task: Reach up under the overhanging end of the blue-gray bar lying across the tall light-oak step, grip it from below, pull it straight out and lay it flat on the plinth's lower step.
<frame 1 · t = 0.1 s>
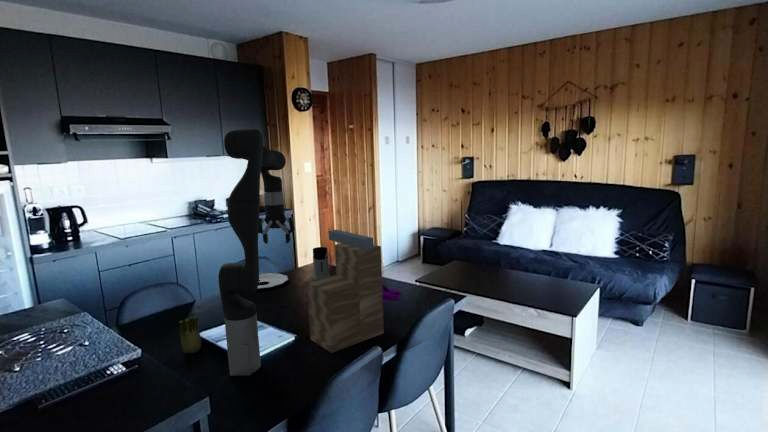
hand: (277, 243, 171), 29 cm above the table, tool pointing down, fingers open, 8 cm apart
fennel bulb: (192, 352, 143), on the table
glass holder: (324, 277, 223), on the table
cloth: (384, 298, 191), on the table
plate: (263, 284, 216), on the table
blue-gray bar: (350, 243, 153), point 32 cm above the table, touching plinth
plinth: (361, 331, 155), on the table
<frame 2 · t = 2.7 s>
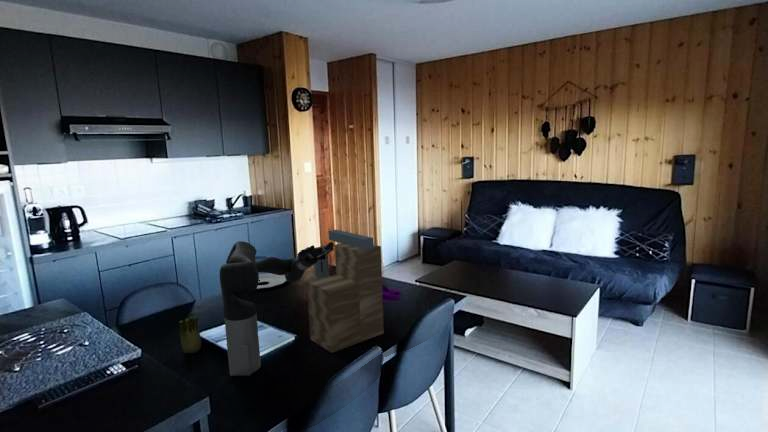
hand: (323, 245, 169), 28 cm above the table, tool pointing upward, fingers open, 8 cm apart
nothing on the table moved.
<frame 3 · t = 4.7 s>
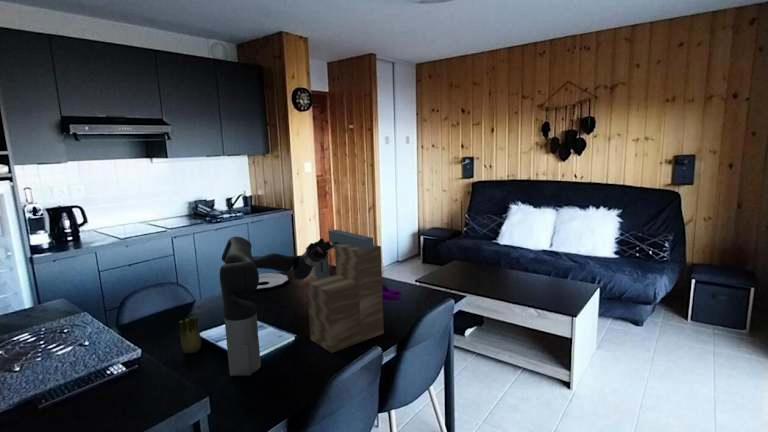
hand: (332, 238, 164), 32 cm above the table, tool pointing upward, fingers open, 8 cm apart
nothing on the table moved.
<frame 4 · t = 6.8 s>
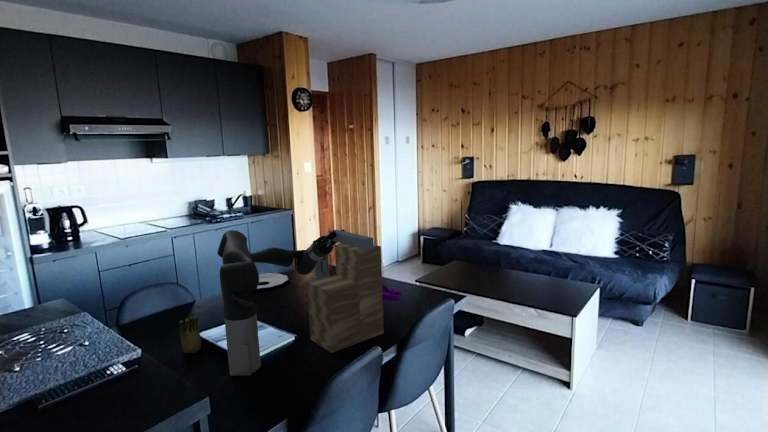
hand: (339, 232, 158), 35 cm above the table, tool pointing upward, fingers closed on blue-gray bar, 3 cm apart
blue-gray bar: (350, 243, 153), point 32 cm above the table, touching gripper, plinth
everything else where it was.
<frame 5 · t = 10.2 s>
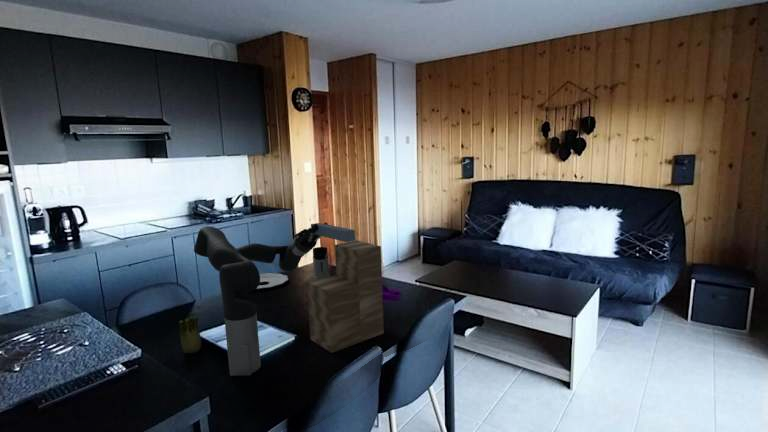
hand: (321, 225, 151), 39 cm above the table, tool pointing upward, fingers closed on blue-gray bar, 3 cm apart
blue-gray bar: (332, 236, 147), point 36 cm above the table, touching gripper
everything else where it was.
when the fingers open (26 cm above the table, at t = 13.5 s): blue-gray bar drops 2 cm, resting on plinth.
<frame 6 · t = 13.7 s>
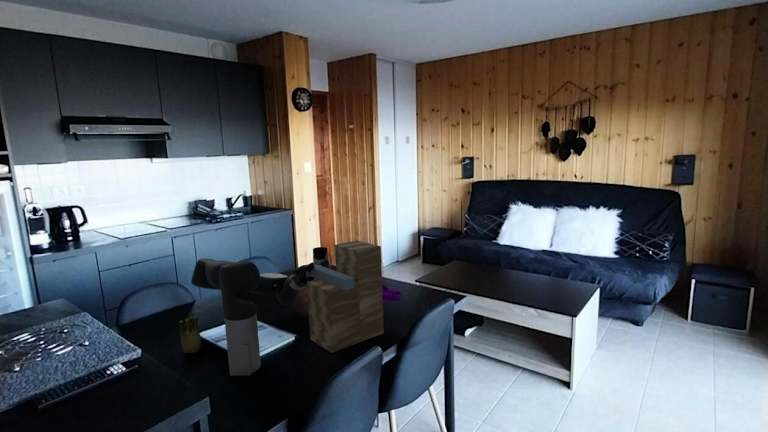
hand: (320, 263, 150), 26 cm above the table, tool pointing upward, fingers open, 5 cm apart
blue-gray bar: (330, 281, 146), point 21 cm above the table, touching plinth
everything else where it was.
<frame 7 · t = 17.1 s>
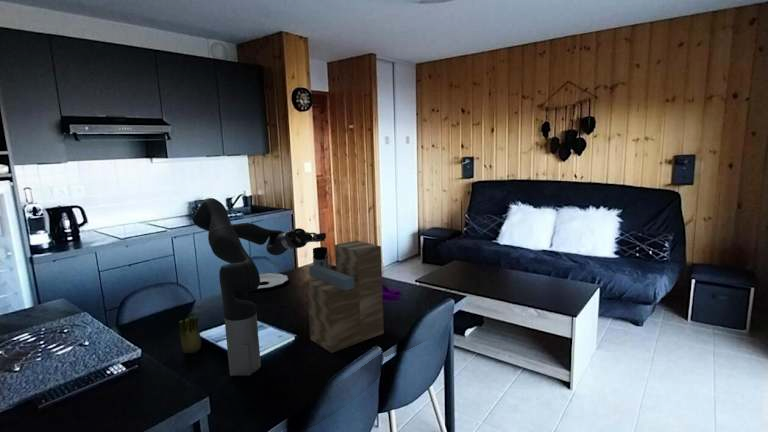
hand: (314, 234, 154), 35 cm above the table, tool horizontal, fingers open, 8 cm apart
nothing on the table moved.
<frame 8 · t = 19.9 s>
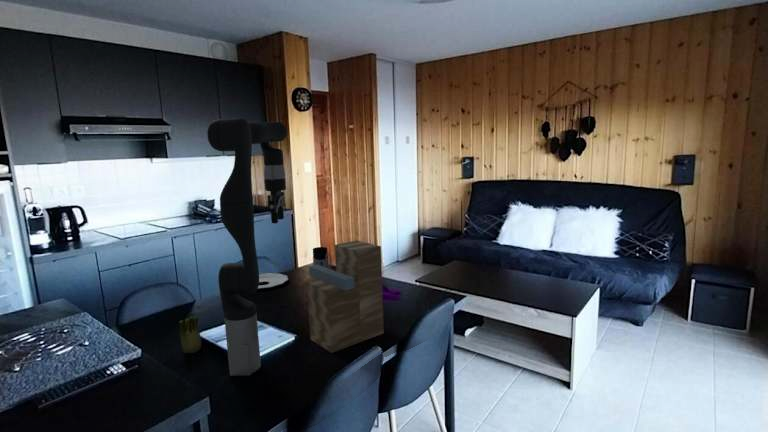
hand: (277, 221, 158), 40 cm above the table, tool pointing down, fingers open, 8 cm apart
nothing on the table moved.
at the end: blue-gray bar inside the target area (1.1 cm from its centre), point 21.0 cm above the table; blue-gray bar tilted 0°; the gripper is holding nothing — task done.
